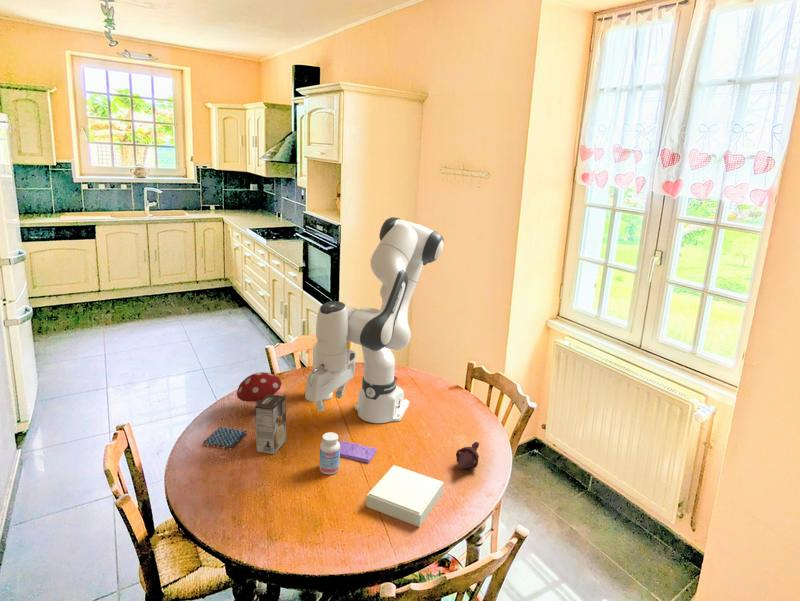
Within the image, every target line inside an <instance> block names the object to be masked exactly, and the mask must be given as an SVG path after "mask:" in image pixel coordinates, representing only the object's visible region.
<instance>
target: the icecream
mask: <svg viewBox="0 0 800 601" xmlns="http://www.w3.org/2000/svg"><path fill="white" fill-rule="evenodd" d="M479 446H480V442H478V441H474V442H473V443H472V444H471V446H464V447H462V448H460V449H458V450H456V454H455V456H456V462H457V470H462V469H466V470H468V471H471V470H473V469H475V468H477V467H478V465H479V458H480V455H479V453H478V452H477V450H478V448H479Z"/></svg>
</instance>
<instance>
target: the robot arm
mask: <svg viewBox="0 0 800 601" xmlns="http://www.w3.org/2000/svg"><path fill="white" fill-rule="evenodd" d="M379 240H380V242H379V243H378V245H377V246H376V248H375V250H374V251H373V253H372V255H371V258H370V268H371V269H370V270H371V271H372V273H373V274H374V276H375V277H376V278H377V279H378V280H379V281H380V283H382V285H381V287H380V290H379V294H380V297H381V299H382V304H381V307H380V309H377V308H376V307H367V306H366V307H365V306H364V307H362V308H360V309H358V308H356V307H355V308H354V307H350V306H347V305H346V304H345V303H344V302H342V301H328V302H325V303H323V304H322V305H320V307H319V308H318V312H317V316H316V323H315V324H316V325H315V336H316V340H317V341H316V342H317V346H316V366H317V368H314V369H313V368H312V369H311V372H310V373H309V374H308V376H307V377H306V383H305V392H304V394H305V395H304V397H305V399H306V401H308V402H312V403H315V404H316V410H317V411H319V412H322V411H325V409H326V403H323V398H324V397H326V396H327V395H329V394H330V393H331V392H333V393H334V392H335V398H337V399H341V398H343V396H344V391H345V388H346V386H347V383H348V382H349V381H350V380H353V379H354V376H355V372H356V371H355V368H356V358H357V352H356V351H354V350H352V349H348V343H354V344H357V345H360V346H361V350H362V355H363V376H362V380H361V388H360V389H359V392H358V400H357V403H356V404H355V405H354V409H355V411H357V416H358V417H359V418H360V419H361V420H363V421H365V422H368V423H372V424H386V423H391V422H400V421H401V420H402V418H403V416H404V415H405V413H406V411H407V410H408V408H409V406H410V400H409V399H407V398H405V393H404V392H405V391H404V389H402V388H401V387H400V386H398V385H397V382H398V381H399V379H400V375H397V374H395V373H396V372H395V368H396V359H395V356H394V353H393V352H392V350H393V351H401V350H404V349H405V348H406V347H407V346H408V344H409V342H410V341H411V337H412V331H411V329H410V326H409V320H408V319H409V318H408V315H409V307H410V303H411V300H412V297H413V295H414V293H415V292H414V291H415V289H416V288H417V284H418V282H419V280H420V277H421V274H422V270H423V267H424V266H426V265H427V264H430V263H433V262H435V261H437V260H438V259H439V257H440V256H441V254H442V252H443V251H444V250H443V249H444V242H445V240H444V237H443V235H442V234H441V233H439V231H438V232H437V231H436V230H432V229H431V228H428V227H426V226H424V225H422V224H419V223H415V222H412V221H408V220H404V219H401V218H399V217H392V216H391V217H389V218H387V219H385V221H384V222H383V223H382V225H381V228H380V230H379ZM396 381H397V382H396Z"/></svg>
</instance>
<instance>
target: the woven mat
mask: <svg viewBox="0 0 800 601" xmlns="http://www.w3.org/2000/svg"><path fill="white" fill-rule="evenodd" d="M247 435H248V433H247V430H243V429H240V430H239V428H237V429H236V428H231V427H227V426H226V427H223V426H219V427H218V428H217V429H215V430H214V432H212V434H210V435H209V437H207V438H206V439H205V440H204V442H203V443H202V444H203V447H205V446H206V447H210V448H212V447H213V448H218V449H219V448H220V449H222V450H225V449H226V451H227V450H229V451H232V450H233V449H235V447H236V446H237V445H238V444H239V443H240V442H241V440H243V439H244V437H246V436H247Z"/></svg>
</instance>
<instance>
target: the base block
mask: <svg viewBox="0 0 800 601" xmlns="http://www.w3.org/2000/svg"><path fill="white" fill-rule="evenodd" d="M444 485H445V484H444V481H442V480H438V479H436V478H434V477H430V476H427V475H424V474H421V473H418V472H415V471H413V470H412V471H411V470H410V469H407V468H404V467H400V466H397V465H395V464H394V465H392V466H391V467H390V468H389V470H388V471H386V472H385V474H384V475H383V476H382V478H380V480H379V481H378V482H377V483H376V484H375V485H374V487H373V488H371V489H370V491H368V493H367V494H366V501H365V502H366V504H365V505H366V507H367V508H369V509H372V510H375V511H377V512H380V513H382V514H385V515H387V516H390V517H392V518H394V519H398V520H400V521H402V522H405V523H408V524H411V525H413V526H415V527H418V528H421V526H422V525H423V523H424V521H425V520H426V519H427V517H428V516H429V515H430V513H431V511H432V509H433V508H434V507H435V505H436V504H437V502H438V501H439V499H440V498H441V496H442V495H443V493H444Z"/></svg>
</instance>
